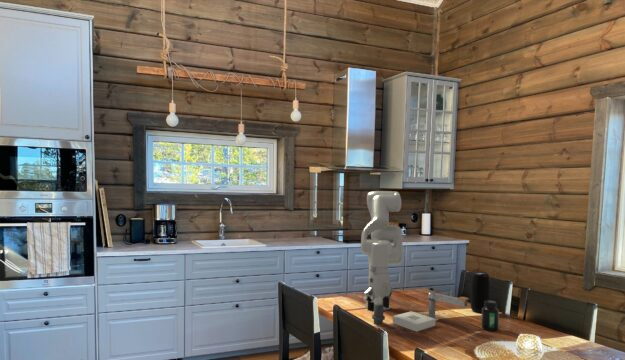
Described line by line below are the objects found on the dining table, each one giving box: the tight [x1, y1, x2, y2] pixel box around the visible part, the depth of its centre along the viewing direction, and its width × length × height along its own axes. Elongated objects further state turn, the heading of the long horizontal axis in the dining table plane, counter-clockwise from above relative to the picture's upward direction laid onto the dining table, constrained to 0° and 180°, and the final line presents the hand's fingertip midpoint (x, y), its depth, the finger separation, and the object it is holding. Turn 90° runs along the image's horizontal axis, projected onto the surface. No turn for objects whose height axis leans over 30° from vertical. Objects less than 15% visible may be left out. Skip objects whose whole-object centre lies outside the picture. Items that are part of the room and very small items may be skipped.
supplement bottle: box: [481, 299, 500, 332], centre depth 181 cm, size 7×7×12 cm
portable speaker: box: [469, 270, 491, 314], centre depth 207 cm, size 9×9×20 cm
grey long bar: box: [427, 291, 470, 307], centre depth 184 cm, size 4×18×3 cm, turn 44°
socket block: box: [392, 298, 439, 332], centre depth 184 cm, size 13×22×10 cm, turn 128°
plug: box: [371, 304, 386, 326], centre depth 182 cm, size 6×6×9 cm
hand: (378, 309), depth 182 cm, fingers open, 9 cm apart
